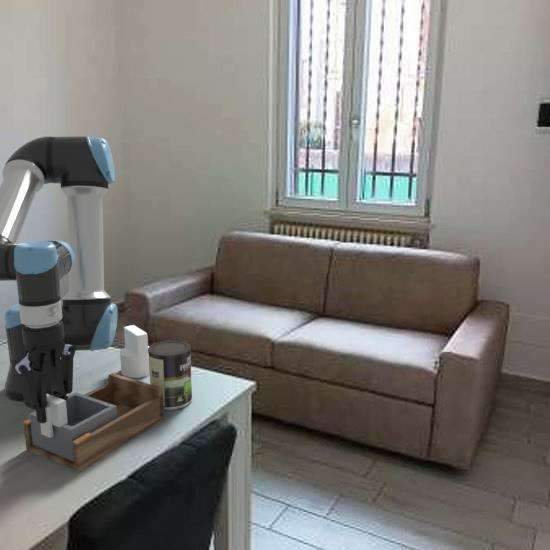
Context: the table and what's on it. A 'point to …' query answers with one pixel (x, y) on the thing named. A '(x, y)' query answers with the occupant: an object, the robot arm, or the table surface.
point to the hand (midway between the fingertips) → (52, 432)
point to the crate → (71, 422)
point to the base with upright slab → (135, 353)
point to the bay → (129, 424)
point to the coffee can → (171, 372)
